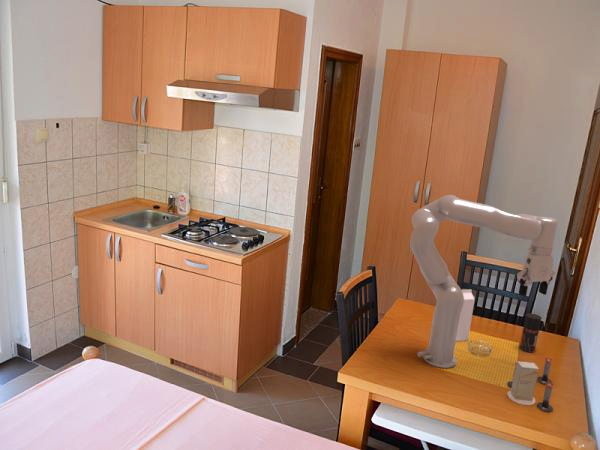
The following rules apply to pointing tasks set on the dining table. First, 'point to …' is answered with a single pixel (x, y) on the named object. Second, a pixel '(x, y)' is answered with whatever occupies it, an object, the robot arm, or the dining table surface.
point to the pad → (519, 401)
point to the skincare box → (524, 380)
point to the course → (549, 385)
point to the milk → (465, 316)
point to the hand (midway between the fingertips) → (532, 294)
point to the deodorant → (530, 333)
